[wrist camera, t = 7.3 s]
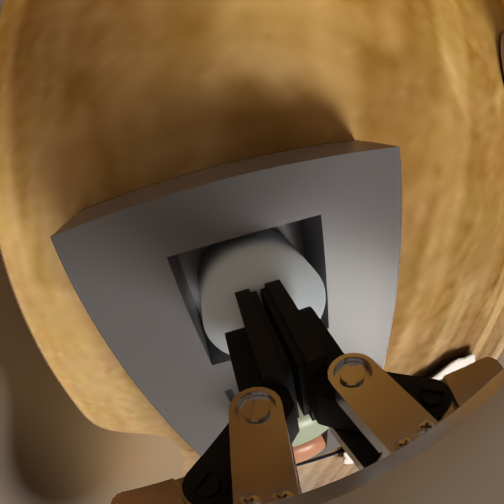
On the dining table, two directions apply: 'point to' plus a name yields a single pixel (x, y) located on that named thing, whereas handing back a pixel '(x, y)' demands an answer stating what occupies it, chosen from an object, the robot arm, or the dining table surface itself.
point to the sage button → (307, 429)
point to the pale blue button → (252, 279)
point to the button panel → (224, 228)
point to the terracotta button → (309, 449)
